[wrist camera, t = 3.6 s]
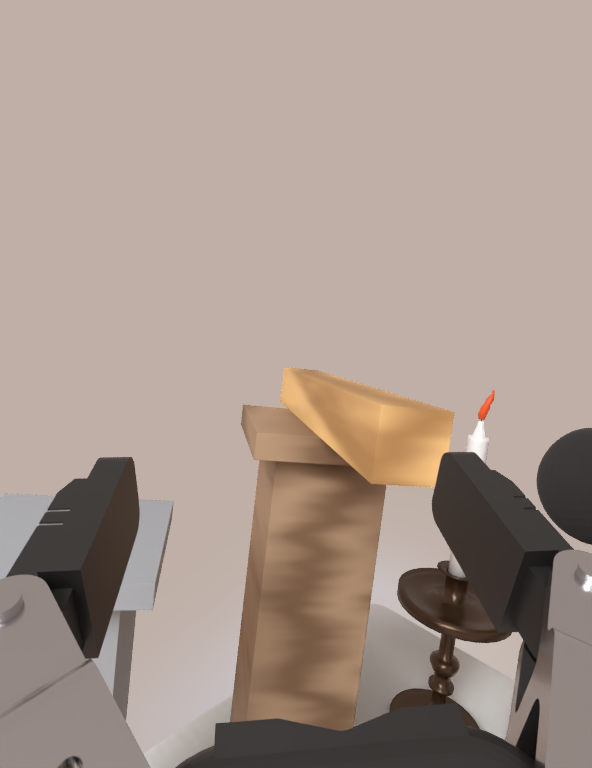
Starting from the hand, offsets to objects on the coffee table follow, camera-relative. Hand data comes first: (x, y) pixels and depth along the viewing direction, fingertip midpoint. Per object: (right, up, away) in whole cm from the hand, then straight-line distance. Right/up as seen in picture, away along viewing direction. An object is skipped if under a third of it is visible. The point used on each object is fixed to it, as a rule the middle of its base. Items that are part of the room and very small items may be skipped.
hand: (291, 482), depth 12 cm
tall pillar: (-2, -32, +21) cm, 38 cm away
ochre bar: (+2, 0, +16) cm, 16 cm away
